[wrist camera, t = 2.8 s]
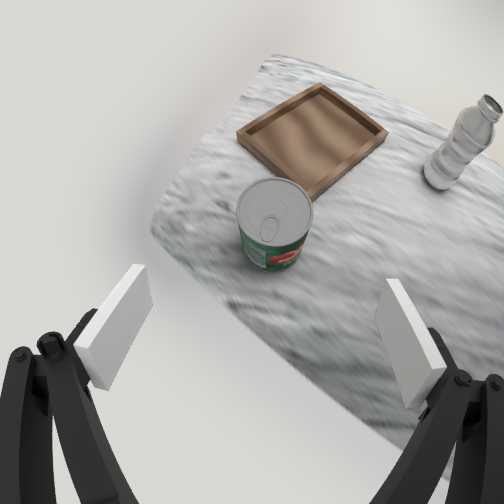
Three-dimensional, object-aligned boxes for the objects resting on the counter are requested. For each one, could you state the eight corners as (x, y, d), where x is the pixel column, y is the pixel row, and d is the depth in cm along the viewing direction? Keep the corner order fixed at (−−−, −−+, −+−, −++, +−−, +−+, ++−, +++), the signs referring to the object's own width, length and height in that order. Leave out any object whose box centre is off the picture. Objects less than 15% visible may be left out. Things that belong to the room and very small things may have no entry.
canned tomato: (252, 212, 42) (248, 169, 31) (307, 226, 41) (319, 186, 30) (236, 264, 39) (225, 234, 29) (293, 280, 38) (304, 255, 28)
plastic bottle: (412, 171, 43) (467, 90, 24) (433, 157, 44) (484, 83, 25) (436, 200, 41) (503, 128, 22) (455, 184, 42) (515, 117, 23)
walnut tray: (318, 91, 49) (319, 82, 47) (384, 141, 45) (388, 132, 43) (237, 141, 46) (236, 131, 43) (308, 205, 42) (311, 196, 39)
